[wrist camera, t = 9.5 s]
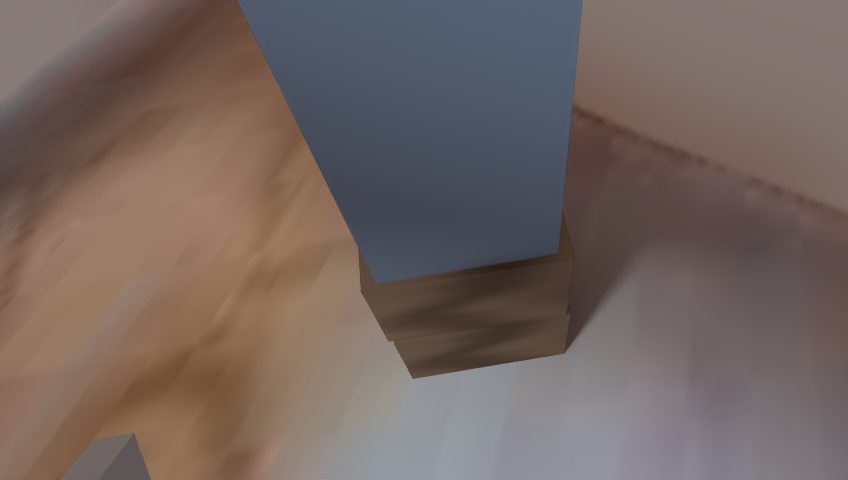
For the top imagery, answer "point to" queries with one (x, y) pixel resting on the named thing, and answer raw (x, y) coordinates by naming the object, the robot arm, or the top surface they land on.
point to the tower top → (472, 295)
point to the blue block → (432, 121)
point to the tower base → (484, 346)
